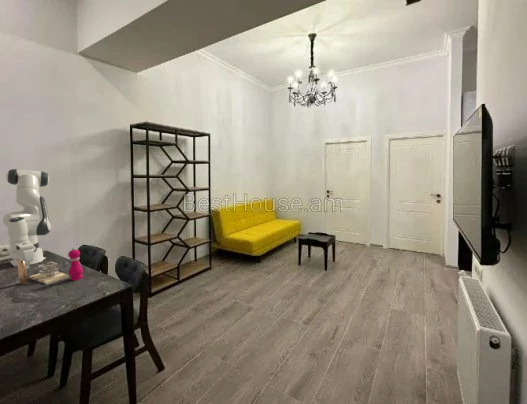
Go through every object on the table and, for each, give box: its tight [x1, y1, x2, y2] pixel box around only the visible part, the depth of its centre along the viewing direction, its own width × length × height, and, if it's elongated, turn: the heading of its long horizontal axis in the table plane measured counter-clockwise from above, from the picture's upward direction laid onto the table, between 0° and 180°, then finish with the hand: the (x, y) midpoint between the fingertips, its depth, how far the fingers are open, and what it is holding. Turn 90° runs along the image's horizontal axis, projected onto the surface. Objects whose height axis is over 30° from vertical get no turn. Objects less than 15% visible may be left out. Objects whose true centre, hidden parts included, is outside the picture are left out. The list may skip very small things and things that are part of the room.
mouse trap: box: [29, 261, 70, 285], centre depth 167 cm, size 20×12×9 cm, turn 63°
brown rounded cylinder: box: [17, 258, 29, 285], centre depth 159 cm, size 4×4×16 cm
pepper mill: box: [67, 247, 84, 281], centre depth 165 cm, size 7×7×20 cm
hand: (23, 267), depth 159 cm, fingers open, 8 cm apart
